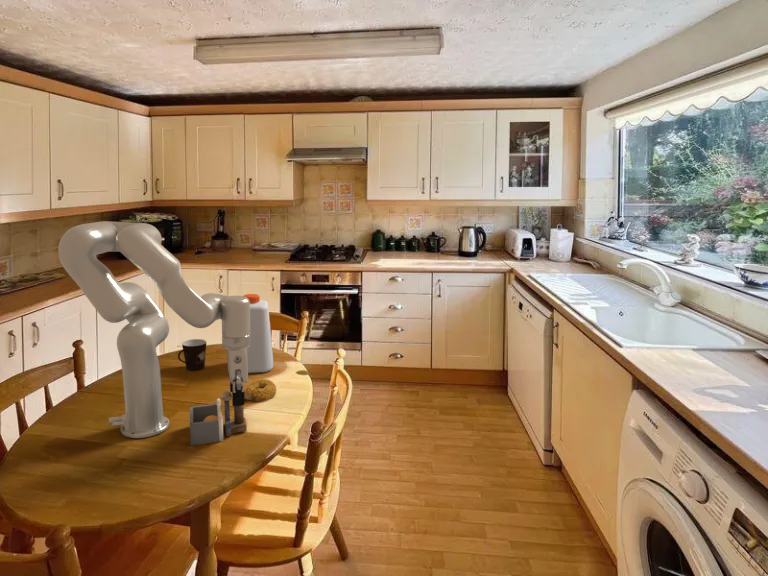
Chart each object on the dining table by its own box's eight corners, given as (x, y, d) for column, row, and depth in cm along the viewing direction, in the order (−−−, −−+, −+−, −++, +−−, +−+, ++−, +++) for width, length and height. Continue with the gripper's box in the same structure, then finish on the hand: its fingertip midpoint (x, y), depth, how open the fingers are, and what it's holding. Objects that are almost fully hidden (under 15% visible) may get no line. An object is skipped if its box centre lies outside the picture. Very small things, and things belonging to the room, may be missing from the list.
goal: (190, 445, 140) (189, 419, 138) (191, 425, 151) (189, 401, 149) (223, 441, 142) (222, 415, 141) (221, 422, 153) (220, 398, 152)
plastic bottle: (273, 373, 193) (272, 299, 187) (230, 375, 190) (228, 300, 184) (273, 359, 207) (271, 290, 202) (233, 361, 204) (231, 291, 198)
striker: (223, 436, 144) (221, 396, 142) (221, 423, 152) (220, 385, 149) (247, 433, 146) (246, 394, 144) (244, 420, 154) (243, 383, 151)
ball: (225, 426, 145) (213, 440, 145) (224, 418, 150) (212, 431, 150) (210, 416, 143) (198, 430, 143) (210, 409, 148) (198, 422, 148)
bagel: (238, 394, 173) (238, 381, 172) (269, 388, 180) (269, 375, 179) (249, 405, 166) (248, 391, 164) (281, 398, 172) (281, 385, 171)
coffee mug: (202, 362, 202) (201, 337, 200) (211, 368, 195) (210, 343, 193) (171, 368, 194) (170, 343, 192) (179, 375, 188) (178, 349, 186)
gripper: (253, 349, 137) (253, 409, 141) (247, 331, 153) (247, 385, 157) (223, 351, 135) (225, 412, 138) (220, 332, 151) (221, 387, 154)
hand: (237, 398), depth 148 cm, fingers open, 9 cm apart
